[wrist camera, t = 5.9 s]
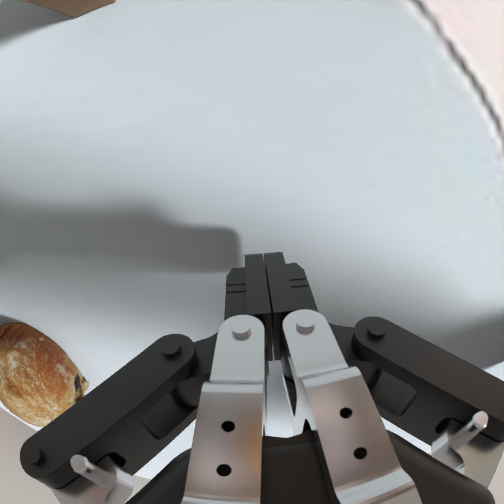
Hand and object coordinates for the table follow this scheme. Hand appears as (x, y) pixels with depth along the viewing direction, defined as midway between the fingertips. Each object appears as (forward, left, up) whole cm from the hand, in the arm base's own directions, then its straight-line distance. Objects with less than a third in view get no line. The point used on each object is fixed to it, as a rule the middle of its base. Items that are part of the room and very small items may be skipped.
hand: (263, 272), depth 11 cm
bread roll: (-9, +20, -2) cm, 22 cm away
